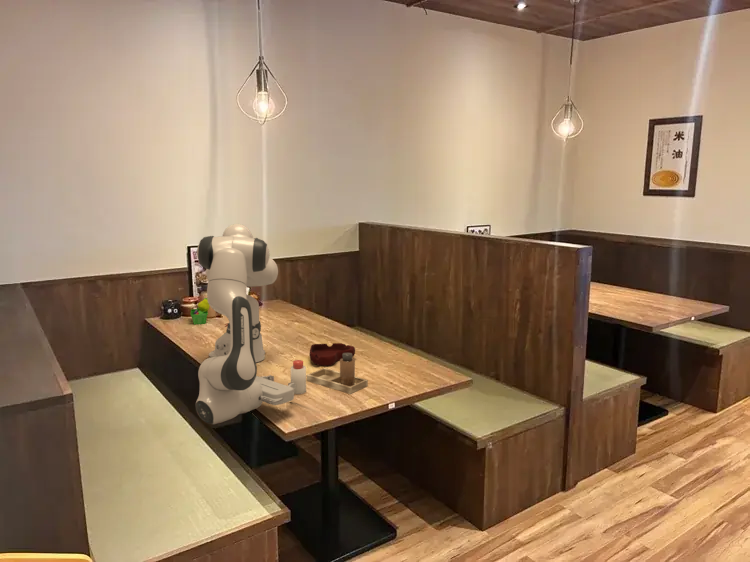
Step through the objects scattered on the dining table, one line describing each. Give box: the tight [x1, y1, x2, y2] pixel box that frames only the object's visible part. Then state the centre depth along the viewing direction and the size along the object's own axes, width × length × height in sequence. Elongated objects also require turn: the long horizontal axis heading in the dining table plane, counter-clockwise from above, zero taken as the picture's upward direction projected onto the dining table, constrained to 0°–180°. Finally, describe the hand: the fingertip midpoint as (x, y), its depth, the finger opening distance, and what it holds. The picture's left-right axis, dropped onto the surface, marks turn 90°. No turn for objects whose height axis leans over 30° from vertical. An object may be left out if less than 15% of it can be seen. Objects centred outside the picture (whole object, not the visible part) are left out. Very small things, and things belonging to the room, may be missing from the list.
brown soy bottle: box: [339, 353, 356, 386], centre depth 189 cm, size 5×5×11 cm
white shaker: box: [290, 359, 307, 395], centre depth 184 cm, size 5×5×11 cm
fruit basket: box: [190, 297, 211, 326], centre depth 270 cm, size 11×9×11 cm
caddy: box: [306, 367, 369, 395], centre depth 192 cm, size 19×9×3 cm, turn 53°
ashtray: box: [309, 342, 356, 367], centre depth 218 cm, size 18×16×5 cm
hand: (283, 381), depth 179 cm, fingers open, 8 cm apart
